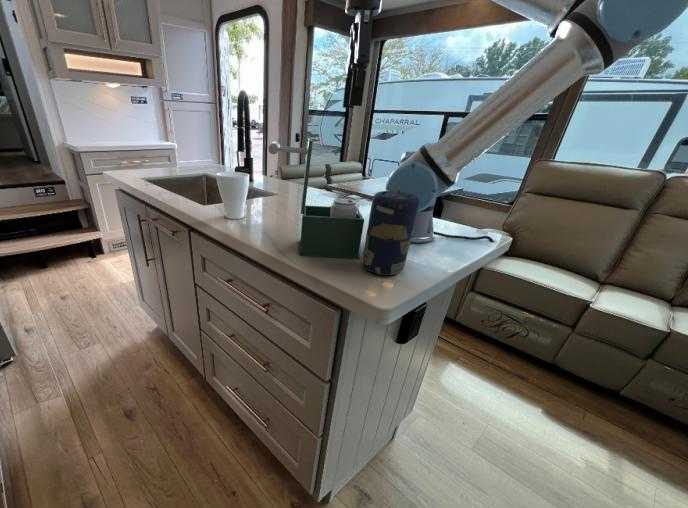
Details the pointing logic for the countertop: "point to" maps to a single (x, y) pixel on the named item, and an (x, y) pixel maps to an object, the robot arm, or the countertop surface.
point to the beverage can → (343, 208)
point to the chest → (330, 233)
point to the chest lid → (276, 147)
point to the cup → (233, 192)
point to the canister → (389, 231)
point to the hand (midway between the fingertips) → (351, 107)
